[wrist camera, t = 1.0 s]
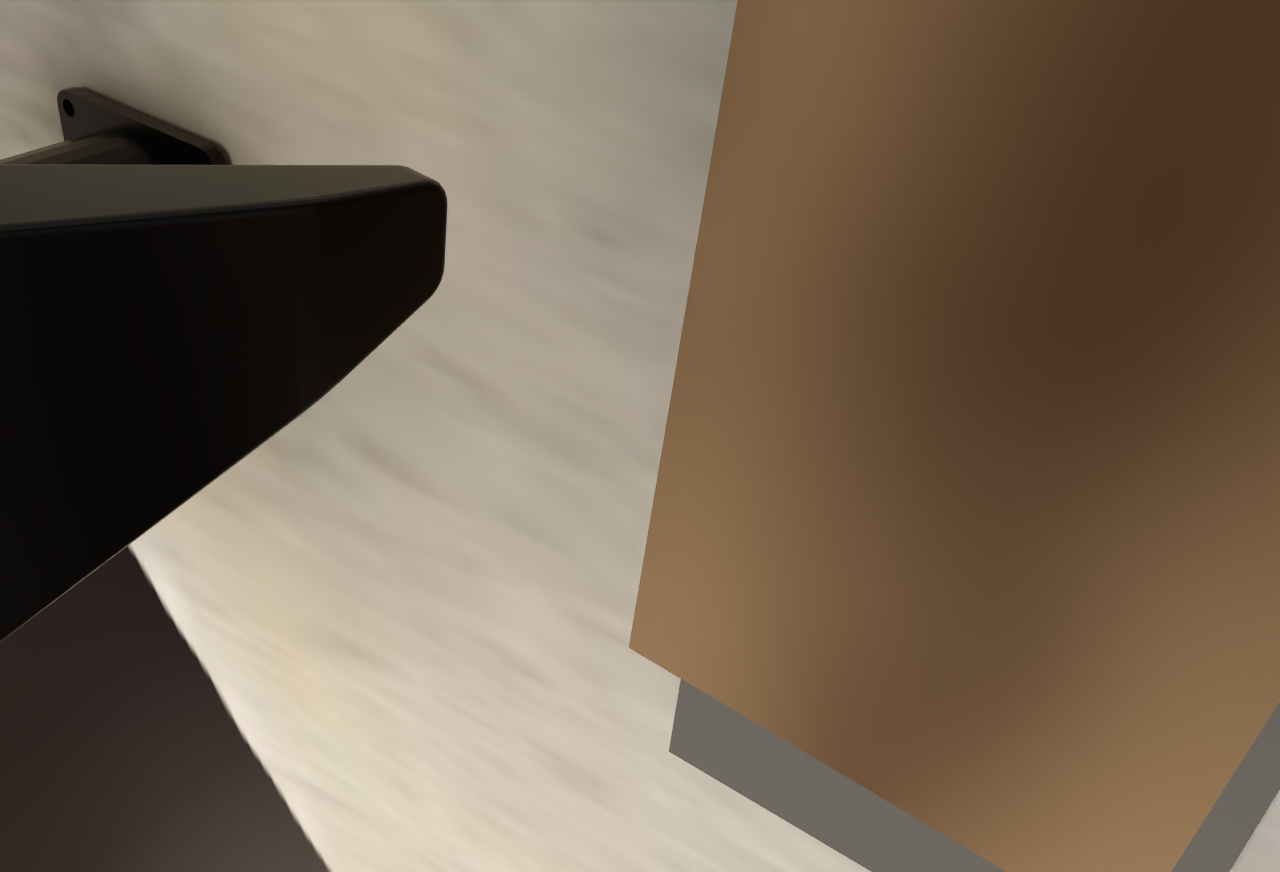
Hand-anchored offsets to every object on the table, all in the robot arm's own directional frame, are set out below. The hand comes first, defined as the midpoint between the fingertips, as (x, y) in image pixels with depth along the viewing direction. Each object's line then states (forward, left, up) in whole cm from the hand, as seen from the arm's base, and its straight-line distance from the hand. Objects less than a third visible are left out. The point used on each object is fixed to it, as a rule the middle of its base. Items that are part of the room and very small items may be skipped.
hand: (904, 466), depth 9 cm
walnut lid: (0, -1, -5) cm, 5 cm away
